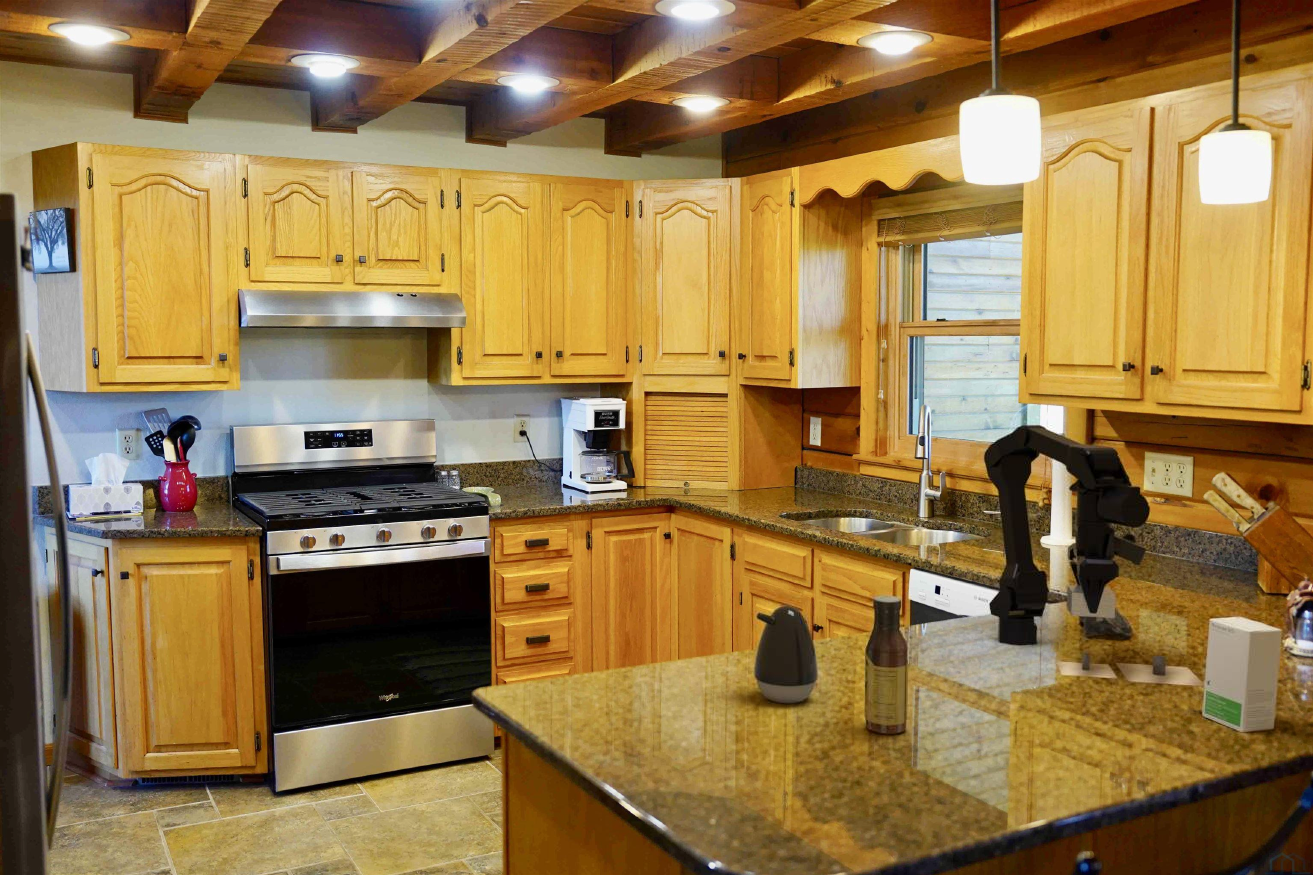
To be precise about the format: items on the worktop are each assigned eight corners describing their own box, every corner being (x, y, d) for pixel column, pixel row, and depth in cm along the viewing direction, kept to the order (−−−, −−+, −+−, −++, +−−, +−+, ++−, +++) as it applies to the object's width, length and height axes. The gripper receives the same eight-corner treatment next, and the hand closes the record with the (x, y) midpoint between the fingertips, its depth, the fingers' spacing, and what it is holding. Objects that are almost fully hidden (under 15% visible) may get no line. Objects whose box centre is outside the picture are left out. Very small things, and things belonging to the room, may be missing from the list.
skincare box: (1200, 717, 180) (1205, 618, 179) (1234, 713, 183) (1238, 615, 181) (1244, 733, 172) (1249, 630, 171) (1278, 729, 175) (1283, 627, 174)
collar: (1071, 615, 199) (1072, 592, 199) (1066, 607, 206) (1067, 584, 206) (1114, 618, 198) (1115, 594, 197) (1108, 609, 204) (1109, 587, 204)
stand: (1061, 681, 199) (1062, 658, 199) (1054, 667, 208) (1055, 645, 208) (1117, 685, 198) (1118, 661, 197) (1107, 671, 206) (1108, 649, 206)
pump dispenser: (742, 693, 190) (743, 601, 189) (798, 687, 194) (800, 597, 193) (769, 711, 181) (771, 614, 180) (828, 704, 184) (830, 610, 183)
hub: (1128, 688, 196) (1129, 663, 195) (1115, 669, 207) (1116, 646, 207) (1204, 693, 193) (1206, 668, 193) (1187, 673, 205) (1188, 650, 205)
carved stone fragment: (1140, 640, 227) (1117, 595, 227) (1095, 659, 229) (1072, 614, 229) (1130, 626, 237) (1107, 583, 237) (1087, 644, 239) (1065, 601, 240)
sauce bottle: (877, 720, 177) (880, 591, 176) (914, 728, 173) (918, 597, 172) (855, 730, 172) (858, 597, 171) (893, 739, 168) (897, 604, 167)
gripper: (1153, 529, 190) (1149, 623, 191) (1134, 514, 208) (1130, 600, 209) (1081, 526, 192) (1078, 619, 194) (1068, 512, 211) (1065, 597, 212)
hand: (1090, 608), depth 202 cm, fingers closed on collar, 7 cm apart
